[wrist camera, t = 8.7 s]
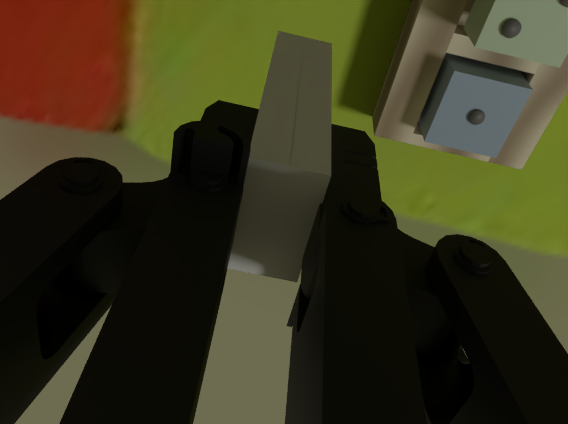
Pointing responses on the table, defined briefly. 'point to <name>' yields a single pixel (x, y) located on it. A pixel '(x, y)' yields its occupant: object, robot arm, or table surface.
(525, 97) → the grey block
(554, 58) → the tile
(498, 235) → the table surface
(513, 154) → the wooden block tray
